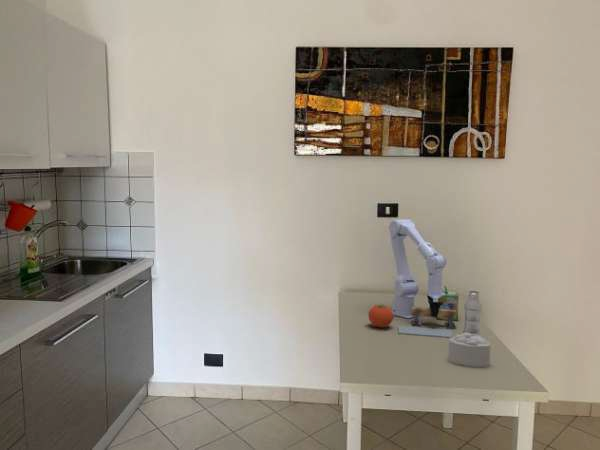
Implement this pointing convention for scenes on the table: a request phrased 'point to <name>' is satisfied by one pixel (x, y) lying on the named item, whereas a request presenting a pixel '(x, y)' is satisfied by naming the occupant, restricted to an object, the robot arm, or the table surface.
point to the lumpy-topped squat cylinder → (469, 350)
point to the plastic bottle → (472, 314)
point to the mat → (424, 332)
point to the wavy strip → (427, 312)
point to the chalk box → (449, 302)
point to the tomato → (380, 315)
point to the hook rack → (447, 324)
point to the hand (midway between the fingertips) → (433, 314)
